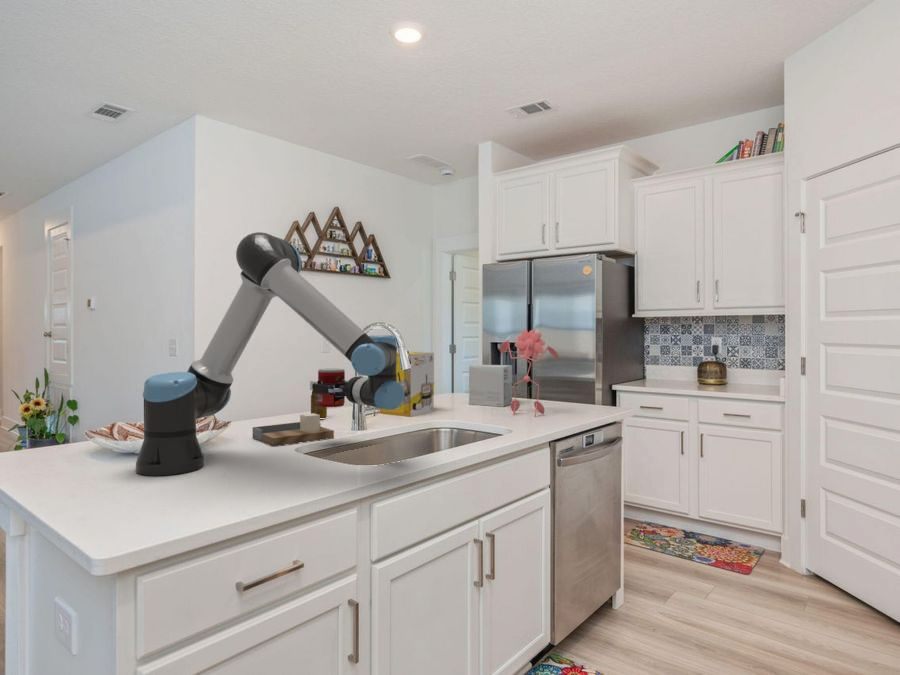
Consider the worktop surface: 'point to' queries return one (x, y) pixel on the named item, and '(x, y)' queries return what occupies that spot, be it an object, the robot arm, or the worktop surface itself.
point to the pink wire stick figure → (528, 347)
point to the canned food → (331, 378)
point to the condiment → (317, 406)
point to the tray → (274, 429)
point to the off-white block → (310, 422)
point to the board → (295, 436)
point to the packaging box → (416, 386)
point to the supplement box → (490, 385)
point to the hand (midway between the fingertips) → (323, 384)
